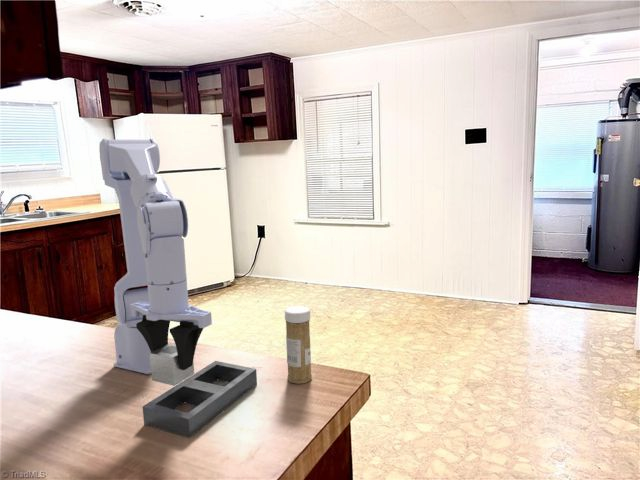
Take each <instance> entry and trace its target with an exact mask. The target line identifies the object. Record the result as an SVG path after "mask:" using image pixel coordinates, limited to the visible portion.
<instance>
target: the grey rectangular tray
mask: <svg viewBox="0 0 640 480" xmlns="http://www.w3.org/2000/svg"><path fill="white" fill-rule="evenodd" d="M257 377H258V376H257V369H256V368H253V367H248V366H243V365H237V364H233V363H228V362H223V361H219V360H214V361H213V362H211V363H209V364H208V365H206V366H205V367H204V368H202V369H200V370H198V371H197V372H194V374H193V375H191V376H190V377H188V378H186V379H185V380H183V381H182V382H180V383H178V384H177V385H175V386H173V387H171V388H170V389H168V390H167V391H165V392H163V393H162V394H160V395H159V396H157V397H155V398H154V399H153V400H151V401H149V402H147V403H146V404H144V405H142V416H143V425H144V426H148V427H152V428H155V429H158V430H161V431H165V432H169V433H173V434H175V435H178V436H182V437H186V438H189V439H191V438H192V437H194V436H195V435H196V434H197V433H198V432H199V431H201V430H202V429H203V428H204V427H206V426H207V425H209V423H211V422H212V421H213V420H215V419H216V418H217V417H218V416H220V415H221V414H222V413H223V412H225V411H226V410H227V409H228V408H231V406H232V405H233V404H235V403H236V402H238V400H240V399H241V398H242V397H243V396H245V395H247V393H249V392H250V391H251V390H252V389H254V388H255V387H256V386H257V385H258V378H257ZM217 381H222V382H226V383H228V384H226V385H225V386H222V385H217V384H214V383H215V382H217ZM183 404H188V405H191V406H195V407H194V408H193V409H191V410H190V411H189V412H184V411H180V410H178V409H177V408H179V407H180V406H182V405H183ZM176 409H177V410H176Z"/></svg>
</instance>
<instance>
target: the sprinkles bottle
mask: <svg viewBox="0 0 640 480" xmlns="http://www.w3.org/2000/svg"><path fill="white" fill-rule="evenodd" d="M284 320H285V329H286V332H285V333H286V335H285V339H286V340H285V341H286V342H285V343H286V345H285V346H286V363H287V381H288V382H290V383H293V384H298V385H300V384H306V383H307V382H310V381H311V380H312V377H313V376H312V367H311V362H312V360H311V359H312V354H311V336H310V335H311V333H310V321H311V309H310V308H309V307H307V306H303V305H294V306H289V307H286V309H284Z"/></svg>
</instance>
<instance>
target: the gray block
mask: <svg viewBox="0 0 640 480" xmlns="http://www.w3.org/2000/svg"><path fill="white" fill-rule="evenodd" d="M150 363H151V373H150V374H151V381H153V382H156V383H161V384H165V385H169V386H173V387H174V386H176V385H178V384H179V383H181V382H182V381H184V380H186V379H187V378H189V377H190V376H192V375H194V374H195V365H194V362H193V365H192V366H191V367H189V368H187V369H186V370H180V367H179V362H178V354H177V348H176V345H175V342H174V343H173V342H168V344H167V345H165V346H163V347H161V348H159V349H157V350H155V351H153V352H151V353H150Z"/></svg>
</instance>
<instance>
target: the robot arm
mask: <svg viewBox="0 0 640 480" xmlns="http://www.w3.org/2000/svg"><path fill="white" fill-rule="evenodd" d="M98 149H99V150H98V151H99V158H100V159H99V161H100V165H101V166H100V167H101V175H102V176H101V177H102V180H103V181H104V185H105V186H107V187H109V188H112V189H114V191H115V193H116V197H117V200H118V205H119V213H120V221H121V222H120V223H121V230H122V238H123V245H124V252H125V253H124V254H125V262H126V269H127V272H126V273H125V275H123V276H122V277H121V278H120V279H119V280H118V281H116V283H115V285H114V287H113V290H114V291H113V292H114V309H115V315H116V318H117V319H116V320H117V321H118V323H117V325H116V327H115V328H114V346H115V358H116V362H114V363H113V367H117V368H120V369H124V370H129V371H132V372H137V373H141V374H145V375H150V374H151V363H150V353H151V352H153V351H155V350H157V349H159V348H161V347H163V346H165V345H167V344H169V334H170V335H171V337H172V339H173V341H174V343H175V345H176V348H177V354H178V362H179V367H180V370H186V369H187V368H189V367H191V366H192V365H193V363H194V358H195V353H196V348H197V345H198V341H199V339H200V336H201V334H202V332H203V330H204V329H205V328H207V327H209V326H210V325H212V324H213V321H212V311H207V310H204V309H200V308H198V307H196V306H193V305H190V304H189V293H188V291H189V290H188V280H187V279H188V278H187V266H186V254H185V253H186V252H185V251H186V250H185V239H184V238H186V237H187V235H188V230H189V218H188V213H187V212H188V211H187V208H186V205H185V203H184V201H183V199H181V198H180V199H178V197H177V198H174V196H173V194H172V193H171V190H170V188H169V187H168V185H167V182H166V181H165V179H164V178H163V177H161V175H158V172H159V168H160V163H161V155H160V148H159V144H158V143H157V141H156V140H155V139H154V138H149V139H107V138H101V140H100V142H99V147H98ZM145 286H147V287H145ZM139 287H143V288H139ZM132 288H136V289H132ZM129 289H130V290H129ZM171 322H176V323H179V325H176V326H174V327H171V328H170V324H171Z"/></svg>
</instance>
